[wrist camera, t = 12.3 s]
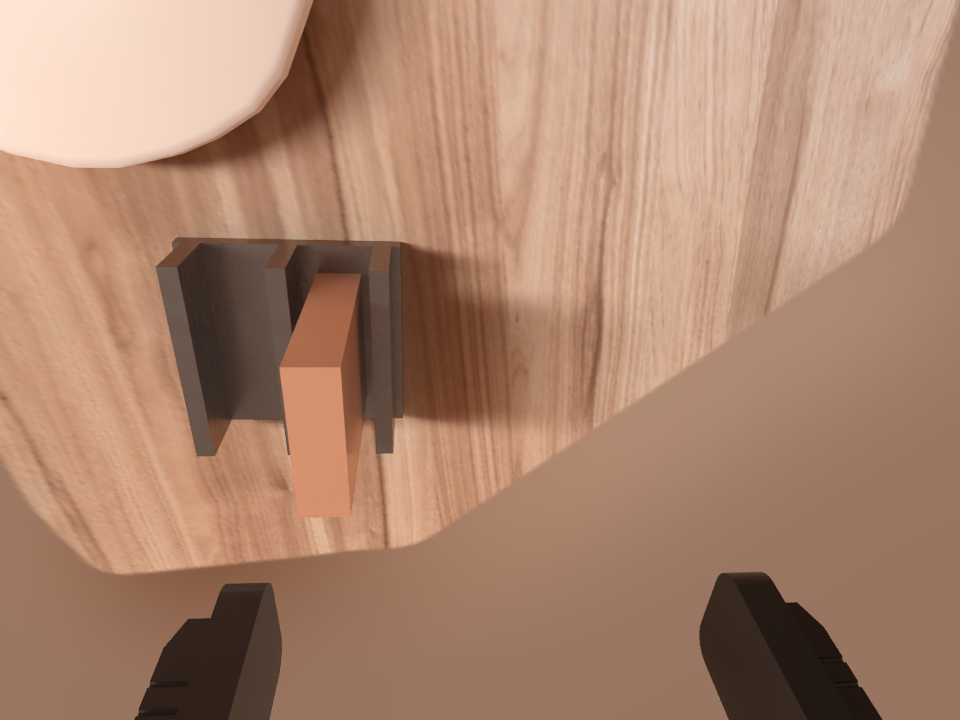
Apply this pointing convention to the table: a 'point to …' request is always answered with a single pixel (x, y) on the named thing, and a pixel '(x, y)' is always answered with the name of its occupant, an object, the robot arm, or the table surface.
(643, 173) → the table surface
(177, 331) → the dish rack
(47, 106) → the plate
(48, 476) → the table surface
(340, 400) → the tall salmon slab
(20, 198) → the table surface
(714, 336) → the table surface
